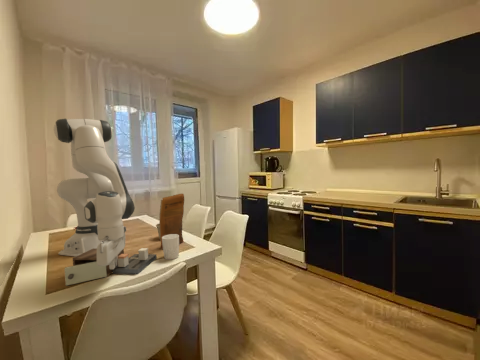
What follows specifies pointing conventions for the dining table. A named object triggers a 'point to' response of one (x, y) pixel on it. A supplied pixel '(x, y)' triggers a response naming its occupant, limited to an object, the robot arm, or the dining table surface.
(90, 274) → the door
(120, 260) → the block
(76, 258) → the wooden box
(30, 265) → the dining table surface
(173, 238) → the white cup
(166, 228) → the pancake mix bag
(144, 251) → the block
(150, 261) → the console
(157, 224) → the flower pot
